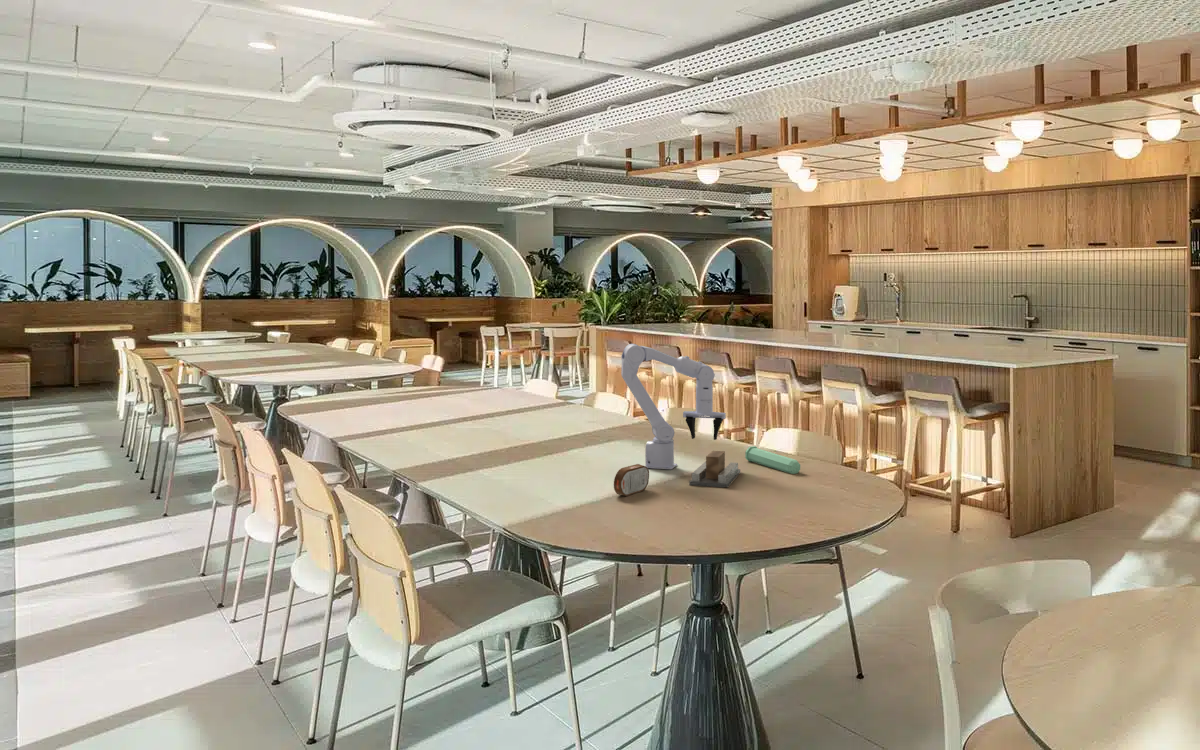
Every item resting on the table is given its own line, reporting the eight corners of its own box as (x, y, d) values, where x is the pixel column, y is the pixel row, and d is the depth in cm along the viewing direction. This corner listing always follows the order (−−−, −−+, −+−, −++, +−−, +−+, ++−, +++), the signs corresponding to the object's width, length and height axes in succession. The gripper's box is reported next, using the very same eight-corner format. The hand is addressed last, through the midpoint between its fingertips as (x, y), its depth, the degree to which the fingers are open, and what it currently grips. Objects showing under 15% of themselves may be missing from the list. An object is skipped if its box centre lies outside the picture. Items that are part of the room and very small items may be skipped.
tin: (643, 488, 277) (642, 461, 276) (651, 489, 275) (651, 462, 274) (612, 497, 266) (612, 469, 265) (621, 499, 264) (620, 471, 263)
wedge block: (706, 478, 284) (706, 456, 283) (712, 471, 293) (712, 450, 293) (718, 478, 283) (718, 457, 282) (724, 472, 292) (724, 451, 291)
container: (801, 456, 294) (755, 442, 316) (787, 464, 292) (742, 450, 314) (806, 471, 295) (760, 457, 318) (792, 480, 293) (747, 465, 316)
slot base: (689, 485, 280) (689, 473, 280) (704, 470, 301) (704, 460, 300) (727, 487, 276) (727, 476, 276) (740, 472, 297) (740, 462, 296)
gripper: (680, 400, 305) (680, 439, 306) (722, 401, 300) (722, 441, 302) (685, 397, 312) (685, 436, 313) (727, 399, 307) (726, 438, 308)
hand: (704, 438), depth 308 cm, fingers open, 7 cm apart
